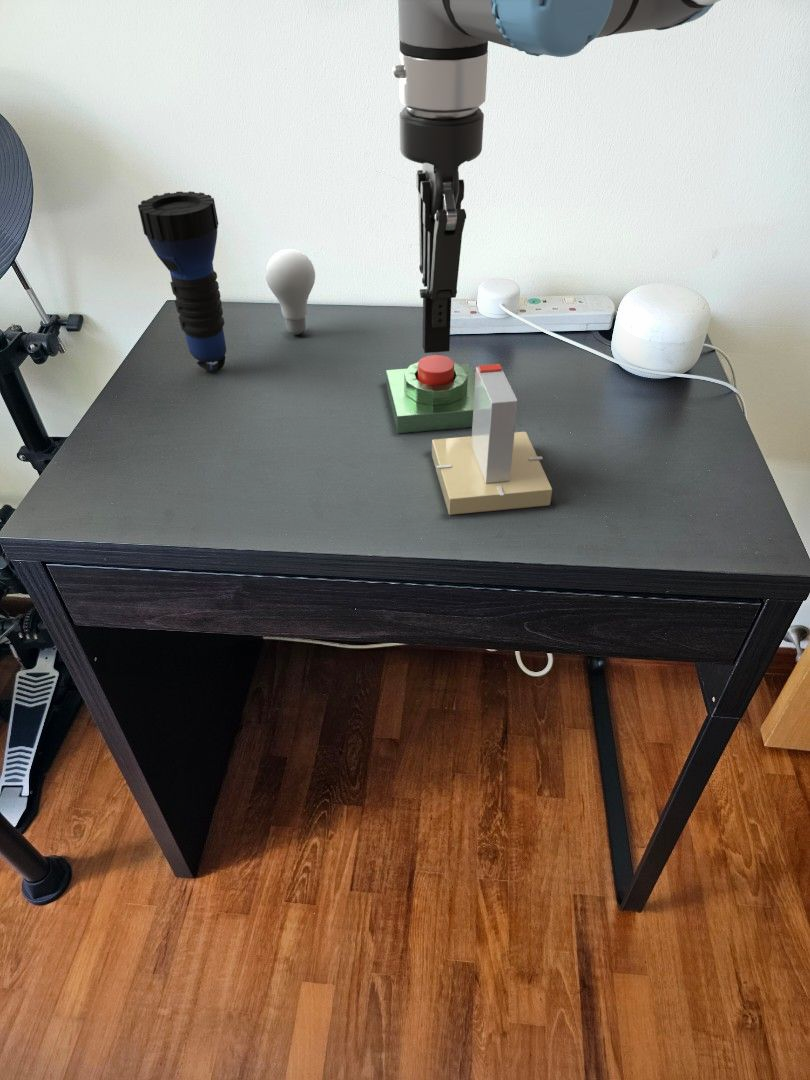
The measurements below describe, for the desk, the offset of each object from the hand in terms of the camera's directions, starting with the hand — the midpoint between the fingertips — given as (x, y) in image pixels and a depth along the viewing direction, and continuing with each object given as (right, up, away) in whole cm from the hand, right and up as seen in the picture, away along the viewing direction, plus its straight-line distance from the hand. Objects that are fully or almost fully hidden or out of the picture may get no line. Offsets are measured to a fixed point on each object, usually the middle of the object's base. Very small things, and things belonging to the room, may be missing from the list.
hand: (435, 348), depth 86 cm
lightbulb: (-18, +6, +18) cm, 26 cm away
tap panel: (+5, -15, -6) cm, 17 cm away
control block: (0, -5, +5) cm, 7 cm away
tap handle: (+5, -13, -7) cm, 16 cm away
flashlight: (-27, 0, +11) cm, 29 cm away
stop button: (0, -3, +2) cm, 4 cm away
